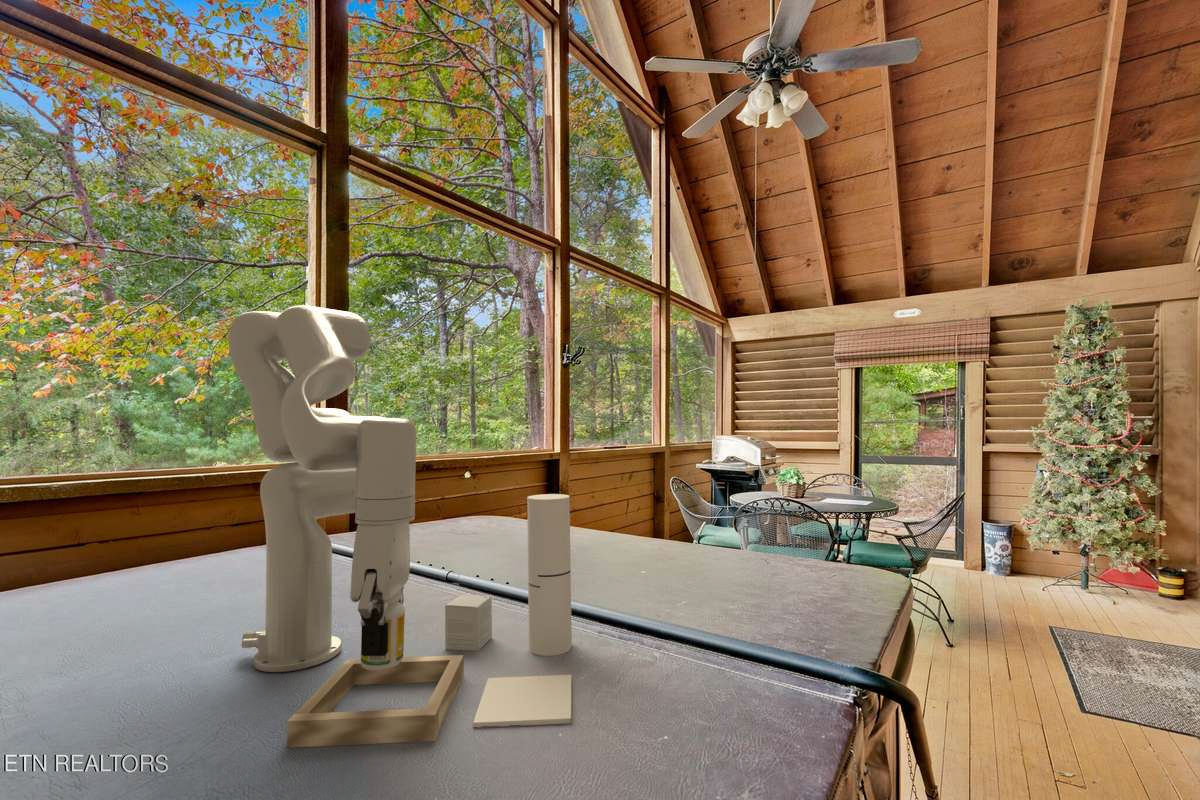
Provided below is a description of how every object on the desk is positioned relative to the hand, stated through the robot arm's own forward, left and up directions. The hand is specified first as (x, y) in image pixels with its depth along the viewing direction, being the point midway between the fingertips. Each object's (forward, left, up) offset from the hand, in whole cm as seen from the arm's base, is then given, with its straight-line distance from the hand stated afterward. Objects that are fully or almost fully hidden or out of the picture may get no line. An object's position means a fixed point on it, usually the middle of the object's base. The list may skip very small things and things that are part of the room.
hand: (382, 643), depth 73 cm
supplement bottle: (0, 0, -3) cm, 3 cm away
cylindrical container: (+22, +17, -8) cm, 29 cm away
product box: (+8, +20, -8) cm, 23 cm away
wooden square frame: (+1, -1, -8) cm, 8 cm away
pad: (+19, -1, -8) cm, 21 cm away
